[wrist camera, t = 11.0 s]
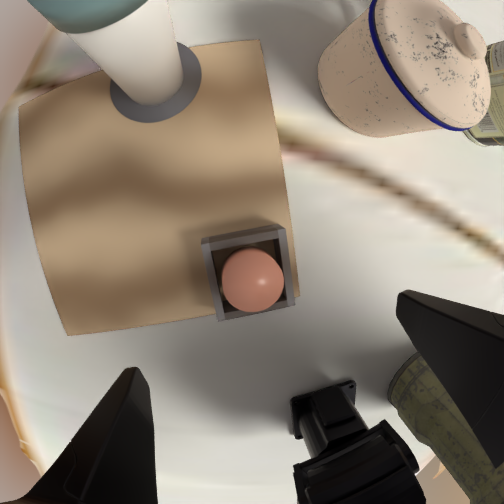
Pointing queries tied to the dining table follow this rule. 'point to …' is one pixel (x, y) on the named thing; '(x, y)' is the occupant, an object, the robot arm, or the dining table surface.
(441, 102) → the teacup with lid
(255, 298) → the button
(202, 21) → the dining table surface
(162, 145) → the board
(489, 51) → the coffee can
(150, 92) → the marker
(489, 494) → the thermos
